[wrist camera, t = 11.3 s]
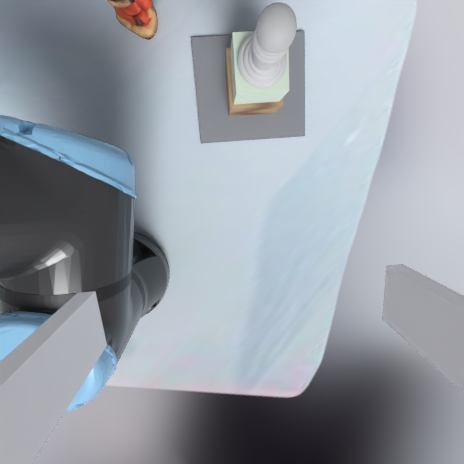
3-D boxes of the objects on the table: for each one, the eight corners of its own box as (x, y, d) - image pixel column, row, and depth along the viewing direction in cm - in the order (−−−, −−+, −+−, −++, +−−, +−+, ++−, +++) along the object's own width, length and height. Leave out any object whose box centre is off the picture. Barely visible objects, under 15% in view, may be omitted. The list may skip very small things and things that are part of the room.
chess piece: (287, 85, 29) (317, 50, 21) (240, 92, 29) (250, 60, 20) (282, 31, 28) (312, -31, 19) (233, 38, 28) (240, -21, 19)
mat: (201, 143, 40) (201, 143, 40) (191, 38, 37) (190, 37, 36) (304, 136, 41) (304, 135, 40) (303, 32, 37) (304, 30, 37)
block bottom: (228, 116, 39) (230, 108, 34) (225, 63, 37) (226, 48, 32) (275, 113, 39) (283, 105, 34) (273, 60, 38) (281, 44, 33)
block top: (233, 104, 34) (236, 94, 29) (230, 52, 33) (232, 32, 28) (279, 101, 34) (289, 90, 29) (277, 49, 33) (288, 28, 28)
